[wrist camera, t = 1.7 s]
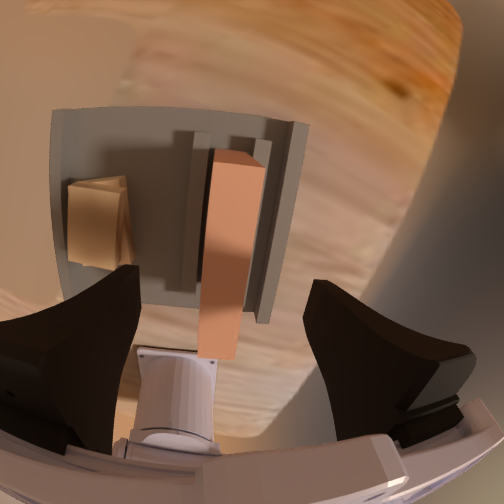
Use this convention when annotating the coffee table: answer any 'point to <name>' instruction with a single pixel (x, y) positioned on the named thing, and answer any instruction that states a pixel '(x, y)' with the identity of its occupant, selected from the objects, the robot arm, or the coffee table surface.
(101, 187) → the offcut top
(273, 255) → the rack
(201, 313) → the panel
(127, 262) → the block
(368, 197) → the coffee table surface
